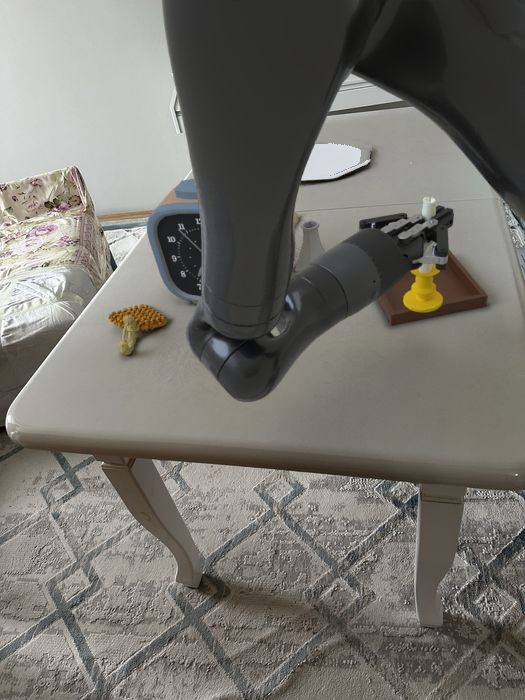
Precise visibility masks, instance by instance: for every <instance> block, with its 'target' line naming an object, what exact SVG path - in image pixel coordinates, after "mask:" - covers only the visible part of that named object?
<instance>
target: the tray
mask: <svg viewBox="0 0 525 700" xmlns="http://www.w3.org/2000/svg"><path fill="white" fill-rule="evenodd" d="M415 282H416V275H414V274H413V273H411V271H409V272H407V273H406V274H405V276H404V277H403V278H402V280H401V281H400V282H399V283H398V284H397V285H396V286H395V287H393V288H392V289H391V290H389V291H388V292H386V293H385V294H384V295H382V296H381V297H379V298H378V299H376V301H377V302H378V304H379V306H380V308H381V310H382V313H384V316H385V317H386V320H387V321H388V323H389V325H390V326H391V327H393V326H397V325H402V324H407V323H412V322H417V321H422V320H427V319H432V318H437V317H442V316H446V315H451V314H456V313H461V312H466V311H471V310H476V309H477V310H478V309H482V308H487V303H488V297H489V295H488V294H487V293H486V292H485V290H484V289H483V288H482V287H481V285H480V284H479V283H478V282H477V281H476V280H475V278H474V277H473V276H472V275H471V273H470V272H469V271H468V270H467V269H466V267H465V266H464V265H463V264H462V263H461V262H460V261H459V259H458V258H457V257H456V256H455V255H454V254H453V252H452V251H451V250H450V249H449V251H448V261H447V269H445V270H440V272H439V273H438V274H436V275H434V276H433V283H434V284H435V285H436V291H437V292H439V293H440V294H441V295H442V297H443V303H442V305H441V307H439V308H438V309H436V310H434V311H431V312H416V311H412V310H410V309H409V308H407V307H406V306H405V305H404V302H403V298H404V295H405V294H406V293H407V292H408V291H410V290H412V289H411V287H412V285H413V283H415Z"/></svg>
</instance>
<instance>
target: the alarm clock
mask: <svg viewBox="0 0 525 700" xmlns="http://www.w3.org/2000/svg"><path fill="white" fill-rule="evenodd" d="M146 235H147V238H148V243H149V246H150V247H151V251H152V255H153V257H154V261H155V263H156V266H157V269H158V272H159V275H160V277H161V280H162V282H163V284H164V285H165V287H166V288H167V290H168V291H170V292H171V294H173V295H174V296H175V297H177V298H179V299H181V300H183V301H190V302H192V304H196V305H197V304H198V302H199V299H200V297H201V295H202V291H201V290H202V289H201V265H202V240H201V223H200V213H199V206H198V199H197V193H196V187H195V181H194V178H190V179H183V180H181V181H180V182H179V183H178V184H177V185H176V186H175V187H173V188H172V189H171V190H170V191H169V192H168V193H167V195H166V196H165V197H164V198H163V199H162V201H161V202H159V204H158V205H157V206H156V207H155V208H154V210H153V211H152V212H151V213H150V214H149V216H148V219H147V221H146Z"/></svg>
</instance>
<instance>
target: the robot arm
mask: <svg viewBox="0 0 525 700" xmlns="http://www.w3.org/2000/svg"><path fill="white" fill-rule="evenodd" d="M161 9H162V18H163V19H162V20H163V27H164V33H165V41H166V46H167V47H166V48H167V52H168V58H169V62H170V69H171V73H172V77H173V78H172V79H173V83H174V88H175V93H176V96H177V101H178V105H179V110H180V116H181V119H182V124H183V129H184V133H185V138H186V143H187V149H188V155H189V160H190V165H191V170H192V176H193V179H194V181H195V187H196V193H197V199H198V206H199V213H200V223H201V240H202V265H201V289H202V290H201V291H202V295H201V297H200V299H199V302H198V304H196V306H195V309H194V311H193V313H192V315H191V317H190V319H189V321H188V323H187V325H186V329H185V336H186V341H187V344H188V347H189V349H190V351H191V352H192V354H193V356H194V357H195V358H196V359H197V360H198V361H199V363H201V365H202V366H203V367H204V368H205V369H206V370H207V371H208V373H209V374H210V375H211V376H212V377H213V378H214V379H215V381H217V383H218V384H219V385H220V386H221V388H223V390H224V391H225V392H226V393H227V395H229V397H231V398H232V399H234V400H235V401H237V402H241V403H253V402H257V401H260V400H262V399H264V398H267V396H269V395H270V394H272V393H273V392H274V390H276V388H278V386H279V385H280V384H281V383H282V381H283V379H284V378H285V377H286V375H287V374H288V373H289V371H290V369H292V367H293V366H294V364H295V363H296V362H297V361H298V359H299V358H300V357H301V356H302V354H304V353H305V351H306V350H308V348H309V347H310V346H311V345H312V344H313V343H314V342H315V341H316V340H317V339H318V338H320V337H321V336H322V335H324V334H326V332H328V331H329V330H331V329H333V327H335V326H336V325H338V324H339V323H341V322H342V321H344V320H346V319H347V318H350V317H352V316H354V315H355V314H357V313H359V312H361V311H362V310H364V309H365V308H367V307H368V306H369V305H371V304H372V303H374V302H375V301H377V299H378V298H379V297H381V296H382V295H384V294H385V293H386V292H388V291H389V290H391V289H392V288H393V287H395V286H396V285H397V284H398V283H399V282H400V281H401V280H402V278H403V277H404V276H405V274H406V273H407V272H409V271H412V270H416V269H418V268H420V267H421V266H422V264H436V269H437V270H445V269H447V261H448V251H449V250H450V247H449V246H450V245H449V244H450V243H449V229H450V228H451V227H453V225H454V219H455V213H454V208H450V207H445V206H444V205H441V204H440V205H439V204H438V205H436V215H435V216H433V217H432V218H430V220H428V221H427V219H426V222H425V220H424V219H423V215H422V213H421V214H414V215H412V216H410V217H409V216H408V213H406V212H399V213H393V214H387V215H381V216H376V217H370V218H365V219H364V218H363V219H361V220H359V221H358V231H357V232H355V233H354V234H353V235H350V236H349V237H347V238H346V239H344V240H342V241H340V242H339V243H337V244H336V245H334V246H333V247H331V248H328V249H327V250H325V252H324V253H323V254H321V255H320V256H318V257H317V258H316V259H315V260H314V261H312V262H311V263H310V264H309V265H307V266H306V267H304V268H302V269H301V270H299V271H297V272H296V271H295V272H294V273H293V269H294V263H295V258H296V257H295V256H296V230H295V229H296V228H295V227H294V212H295V211H296V203H297V197H298V194H299V189H300V186H301V179H302V176H303V173H304V170H305V167H306V165H307V162H308V160H309V157H310V155H311V152H312V150H313V148H314V145H315V143H316V141H317V139H319V136H320V133H321V131H322V129H323V127H324V124H325V122H326V119H327V118H328V114H329V113H330V111H331V109H332V106H333V104H334V101H335V100H336V98H337V95H338V94H339V91H340V89H341V87H342V86H343V83H344V82H345V81H347V79H348V78H349V77H350V75H352V76H355V77H357V78H359V79H361V80H362V81H363V80H364V81H365V82H367V83H369V84H371V85H373V86H375V87H376V88H379V89H381V90H382V91H385V92H386V93H388V94H390V95H392V96H394V97H396V98H398V99H400V100H402V102H405V103H406V104H407V105H409V106H411V107H412V108H414V109H416V110H417V111H419V113H421V114H422V115H424V116H425V117H426V118H428V119H429V120H430V121H431V122H433V123H434V125H436V126H437V127H438V128H439V129H440V130H441V131H442V132H443V133H444V134H445V135H446V136H447V137H448V138H449V139H450V140H451V141H452V143H453V144H454V145H455V146H456V147H457V149H459V150H460V151H461V153H462V154H463V155H464V156H465V157H466V158H467V159H468V161H469V162H470V163H471V164H472V165H473V167H474V168H475V169H476V170H477V171H478V173H479V174H480V175H481V176H482V178H483V179H484V180H485V182H487V184H488V185H489V186H490V187H491V188H492V189H493V190H494V192H495V193H496V194H497V195H498V196H499V197H500V198H501V199H502V201H503V202H504V203H505V204H506V205H507V206H508V207H509V208H510V209H511V210H512V211H513V213H515V214H516V215H517V217H519V218H520V219H521V220H522V221H523V222H524V223H525V0H161ZM433 242H434V244H433V248H430V249H429V251H428V252H425V251H426V249H427V247H428V246H429V245H430V244H432V243H433ZM424 252H425V253H424ZM275 328H276V330H277V332H278V334H277V335H274V334H273V333H272V331H273V330H274V329H275Z"/></svg>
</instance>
